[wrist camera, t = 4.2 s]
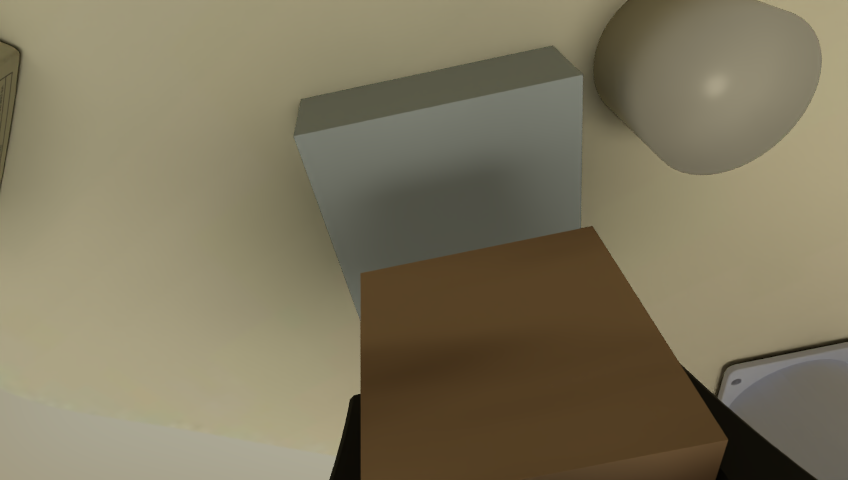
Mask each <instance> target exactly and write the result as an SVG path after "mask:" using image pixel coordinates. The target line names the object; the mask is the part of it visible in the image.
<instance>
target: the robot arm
mask: <svg viewBox="0 0 848 480" xmlns="http://www.w3.org/2000/svg"><path fill="white" fill-rule="evenodd" d="M680 365H681V364H680ZM681 366H682V365H681ZM682 368H683V369H684V371H685V372H686V374H687V376H688V377H689V379H690V380H691V382H692V383H693V385H694V387H695V388H696V390H697V391H698V393H699V395H700V396H701V398H702V399H703V401H704V402H705V404H706V406H707V407H708V409H709V410H710V412H711V413H712V415H713V417H714V418H715V420H716V421H717V423H718V424H719V426H720V428H721V429H722V431H723V432H724V434H725V435H726V437H727V439H728V442H727V445H726V448H725V452H724V455H723V458H722V461H721V464H720V467H719V470H718V473H717V477H716V480H848V342H844V343H839V344H834V345H829V346H824V347H819V348H814V349H809V350H804V351H799V352H794V353H789V354H784V355H779V356H774V357H769V358H764V359H759V360H754V361H750V362H745V363H740V364H735V365H732V366H730V367H728V368H727V369H726V371H725V373H724V377H723V380H722V384H721V387H720V391H719V394H718V398H717V397H716V396H715V395H714V394H713V393H711V392H710V391H709V390H708V389H707V388H706V387H705V386H704V385H703V384H702V383H700V382H699V381H698V380H697V379H696V378H695V377H694V376H693V375H692V374H691V373H690V372H689V371H687V370H686V369H685V368H684V367H683V366H682ZM329 480H361V394H358V395H354V396H353V397H352V398H351V399H350V402H349V408H348V413H347V417H346V422H345V426H344V430H343V434H342V438H341V442H340V446H339V449H338V453H337V456H336V460H335V463H334V467H333V470H332V473H331V476H330V479H329Z"/></svg>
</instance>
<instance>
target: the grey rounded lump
mask: <svg viewBox="0 0 848 480" xmlns="http://www.w3.org/2000/svg"><path fill="white" fill-rule="evenodd" d="M821 63H822V56H821V48H820V44H819V40H818V38H817V36H816V34H815V32H814V30H813V29H812V28H811V26H810V25H809V24H808V23H807V22H806V21H805V20H804V19H803V18H801V17H799V16H798V15H796V14H794V13H792V12H789V11H786V10H783V9H780V8H777V7H774V6H771V5H768V4H766V3H763V2H760V1H757V0H628V1H627V2H626V3H625V4H624V5H623V6H622V7H621V8H620V9H619V10H618V11H617V12H616V13H615V15H614V16H613V17H612V19H611V20H610V21H609V23H608V24H607V26H606V28H605V30H604V31H603V33H602V36H601V38H600V40H599V42H598V46H597V49H596V52H595V57H594V66H593V74H594V82H595V86H596V89H597V92H598V94H599V96H600V97H601V99H602V100H603V102H604V103H605V104H606V105H607V106H608V107H609V108H610V109H611V110H612V111H613V112H614V113H615V114H616V115H617V116H618V117H619V118H620V119H621V120H622V121H623V122H624V123H625V124H626V125H627V126H628V127H629V128H630V129H631V130H632V131H633V132H634V133H635V134H636V135H637V136H638V137H639V138H640V139H641V140H642V141H643V142H644V143H645V144H646V145H647V146H648V147H649V148H650V149H651V150H652V151H653V152H654V153H655V154H656V155H657V156H658V157H659V158H660V159H661V160H663V161H664V162H665V163H666V164H667V165H668V166H670V167H672V168H673V169H675V170H678V171H680V172H683V173H688V174H694V175H711V174H717V173H722V172H726V171H730V170H733V169H735V168H738V167H741V166H743V165H745V164H747V163H749V162H751V161H753V160H754V159H756V158H758V157H760V156H761V155H763V154H764V153H765V152H767V151H768V150H770V149H771V148H772V147H773V146H775V145H776V144H777V143H778V142H779V141H781V140H782V139H783V138H784V137H785V136H786V135H787V134H788V133H789V132H790V130H791V129H792V128H793V127H794V126H795V125H796V123H797V122H798V121H799V119H800V118H801V116H802V115H803V114H804V112H805V110H806V109H807V107H808V105H809V104H810V102H811V100H812V97H813V95H814V93H815V91H816V88H817V85H818V82H819V77H820V73H821Z"/></svg>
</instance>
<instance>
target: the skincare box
mask: <svg viewBox="0 0 848 480" xmlns="http://www.w3.org/2000/svg"><path fill="white" fill-rule="evenodd" d="M18 66H19V52H18V51H17V50H16V49H15V48H14V47H12V46H10V45H7V44H5V43H2V42H0V184H1V179H2V174H3V168H4V162H5V157H6V149H7V144H8V138H9V131H10V125H11V119H12V113H13V106H14V100H15V93H16V83H17V74H18Z"/></svg>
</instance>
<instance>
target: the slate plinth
mask: <svg viewBox="0 0 848 480" xmlns="http://www.w3.org/2000/svg"><path fill="white" fill-rule="evenodd" d="M582 112H583V74H582V73H581V72H580V71H579V70H578V69H577V68H576V67H574V66H573V65H572V64H571V63H570V62H569V61H568V60H567V59H566V58H565V57H564V56H563V55H562V54H561V53H560V52H559V51H558V50H557V49H556V48H555V47H554V46H549V47H544V48H539V49H535V50H530V51H525V52H520V53H516V54H511V55H506V56H502V57H497V58H492V59H488V60H483V61H478V62H474V63H469V64H464V65H459V66H455V67H450V68H445V69H441V70H436V71H431V72H427V73H422V74H417V75H413V76H408V77H403V78H399V79H394V80H389V81H384V82H380V83H375V84H370V85H366V86H361V87H356V88H352V89H347V90H342V91H338V92H333V93H328V94H324V95H319V96H314V97H309V98H305V99H301V103H300V108H299V112H298V117H297V122H296V127H295V132H294V139H295V142H296V145H297V147H298V150H299V153H300V156H301V158H302V161H303V164H304V167H305V169H306V172H307V175H308V178H309V180H310V183H311V186H312V189H313V192H314V194H315V197H316V200H317V203H318V205H319V208H320V211H321V214H322V216H323V219H324V222H325V225H326V227H327V230H328V233H329V236H330V238H331V241H332V244H333V247H334V249H335V252H336V255H337V258H338V261H339V263H340V266H341V269H342V272H343V274H344V277H345V280H346V283H347V285H348V288H349V291H350V294H351V296H352V299H353V302H354V305H355V307H356V310H357V313H358V316H359V318H360V321H361V283H360V273H364V272H369V271H373V270H378V269H383V268H388V267H393V266H398V265H403V264H408V263H413V262H418V261H423V260H428V259H433V258H437V257H442V256H447V255H452V254H457V253H462V252H467V251H472V250H477V249H482V248H487V247H492V246H497V245H501V244H506V243H511V242H516V241H521V240H526V239H531V238H536V237H541V236H546V235H551V234H556V233H560V232H565V231H570V230H575V229H580V228H581V181H582Z"/></svg>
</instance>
